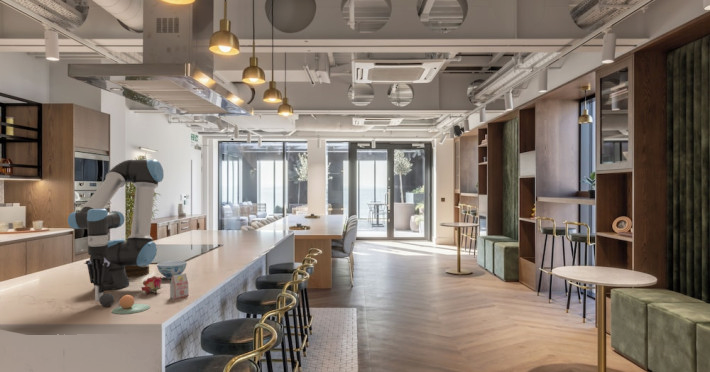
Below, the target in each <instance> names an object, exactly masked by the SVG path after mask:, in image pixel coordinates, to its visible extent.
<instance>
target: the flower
mask: <svg viewBox="0 0 710 372" xmlns="http://www.w3.org/2000/svg"><path fill="white" fill-rule="evenodd" d="M161 283H162V277H161V276H155V275H153V276H151V277H148V278H147V279H146V280H143V281H142V285H143V286H141V291H142V292H143V291H144V292H145V293H146V294H150V293H154V294H155V295H156V294H158V291H159V290H161V289H162V288H163V286H162V287H161V285H162V284H161Z"/></svg>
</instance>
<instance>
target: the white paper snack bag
mask: <svg viewBox="0 0 710 372" xmlns="http://www.w3.org/2000/svg"><path fill="white" fill-rule="evenodd" d="M169 292H170V293H169V296H170V298H171V299H175V300H176V299H180V298H185V297H188V296H189V280H188V277H187V273H181V274H180V275H175V276H172V279H170V284H169Z"/></svg>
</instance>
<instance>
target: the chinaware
mask: <svg viewBox="0 0 710 372" xmlns="http://www.w3.org/2000/svg"><path fill="white" fill-rule="evenodd" d="M187 263H188V262H187V261H185V260H169V261H162V262H159V263H157V264H156V266H157V269H158V270H157V271H158V272H159V273H160V274H161V275H162V276H164V277H165V279H168V280H171V279H172V276H175V275H180V274H184V273H183V272H184V271H185V270H186V267H187Z"/></svg>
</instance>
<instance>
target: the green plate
mask: <svg viewBox="0 0 710 372" xmlns="http://www.w3.org/2000/svg"><path fill="white" fill-rule="evenodd" d="M150 308H151V306H150V305H149V304H147V303H146V304H145V303H134V304H133V306H132V307H130V308H128V309H125V308H122V307H121V306H119V307H118V306H117V307H116V308H113V309H112V310H111V313H112V314H115V315H131V314H137V313H142V312H144V311H146V310H148V309H150Z"/></svg>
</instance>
